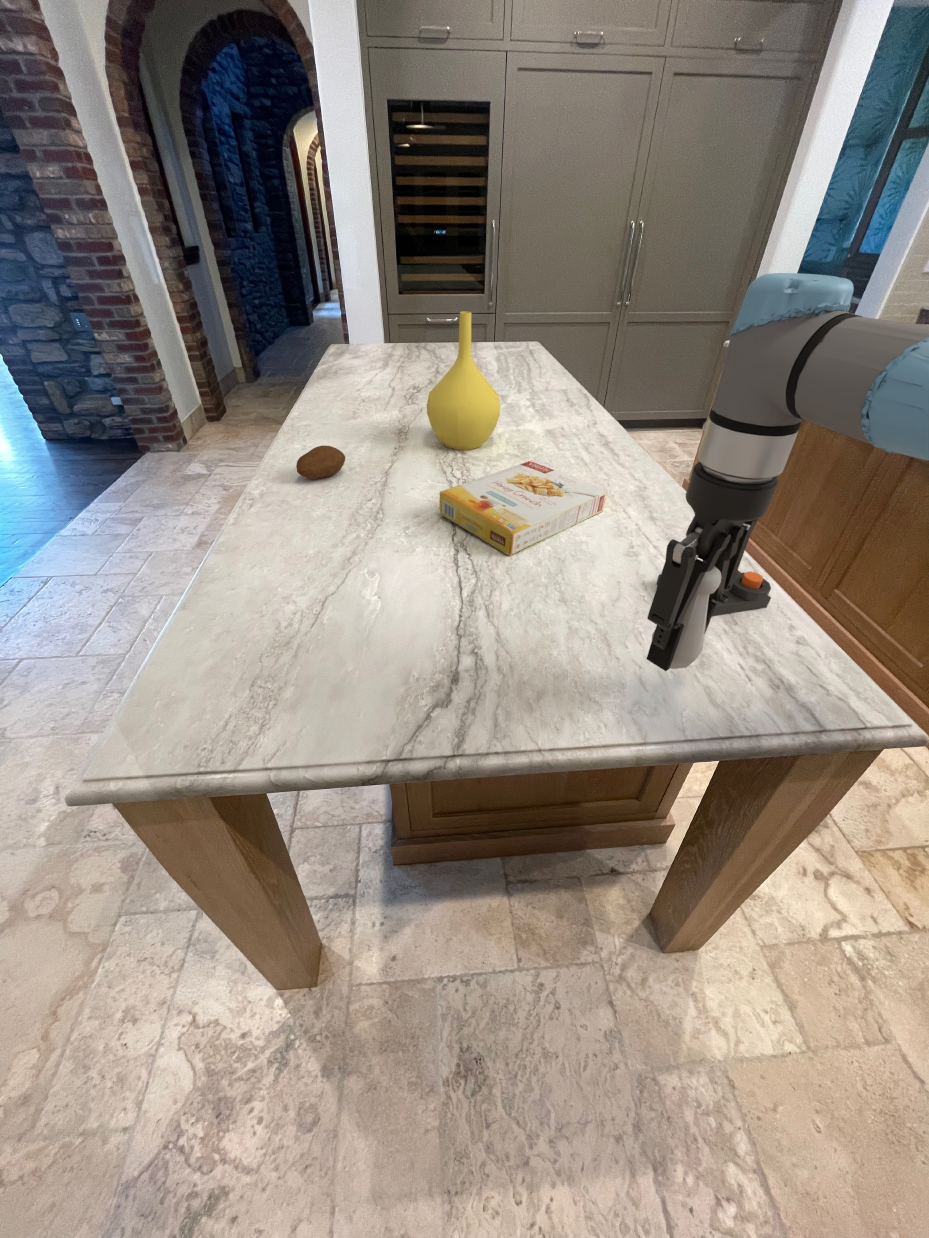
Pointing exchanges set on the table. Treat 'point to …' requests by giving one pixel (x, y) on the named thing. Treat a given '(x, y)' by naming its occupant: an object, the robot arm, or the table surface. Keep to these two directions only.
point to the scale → (742, 597)
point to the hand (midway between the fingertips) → (673, 652)
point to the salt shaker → (695, 622)
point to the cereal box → (521, 504)
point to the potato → (320, 462)
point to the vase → (463, 399)
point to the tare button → (752, 580)
